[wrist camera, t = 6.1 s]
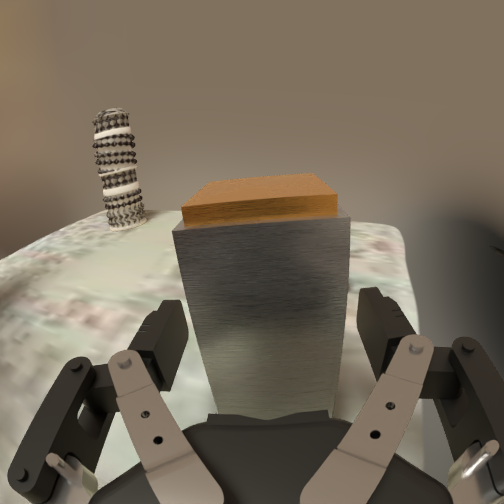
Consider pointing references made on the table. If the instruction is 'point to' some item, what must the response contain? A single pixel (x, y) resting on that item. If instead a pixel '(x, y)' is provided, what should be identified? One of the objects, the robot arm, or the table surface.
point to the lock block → (267, 291)
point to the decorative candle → (118, 169)
